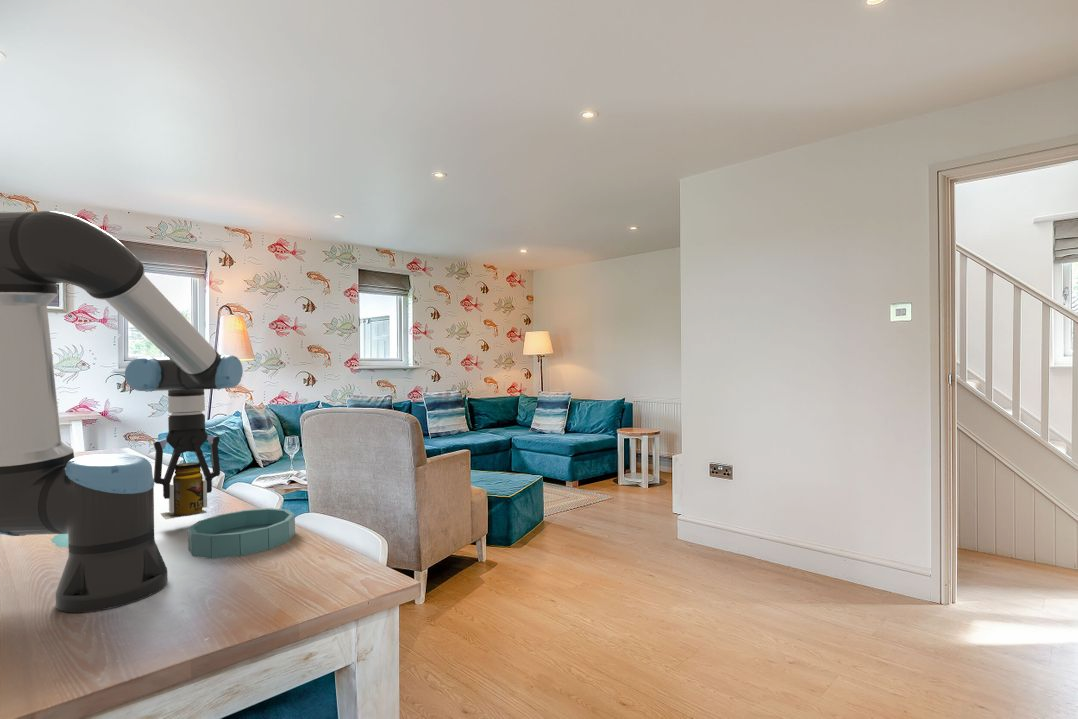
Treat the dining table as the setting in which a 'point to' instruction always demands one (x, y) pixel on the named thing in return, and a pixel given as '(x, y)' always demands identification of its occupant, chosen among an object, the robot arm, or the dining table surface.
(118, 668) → the dining table surface
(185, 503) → the yellow cylindrical bottle
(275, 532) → the bowl
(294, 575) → the dining table surface
